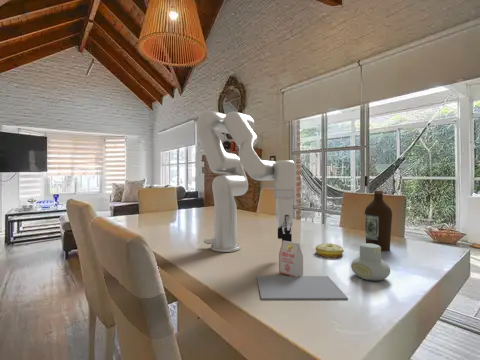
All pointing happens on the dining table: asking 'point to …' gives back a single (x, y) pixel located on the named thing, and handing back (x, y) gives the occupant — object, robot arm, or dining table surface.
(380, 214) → the olive oil
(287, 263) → the white paper carton
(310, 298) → the mat
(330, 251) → the decorated donut
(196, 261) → the dining table surface
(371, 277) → the air freshener
